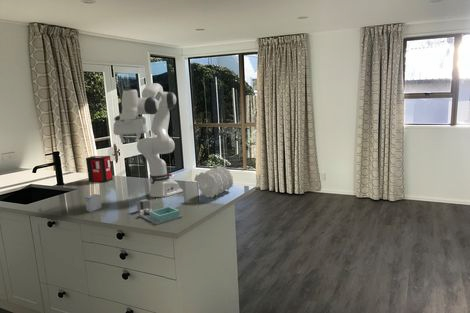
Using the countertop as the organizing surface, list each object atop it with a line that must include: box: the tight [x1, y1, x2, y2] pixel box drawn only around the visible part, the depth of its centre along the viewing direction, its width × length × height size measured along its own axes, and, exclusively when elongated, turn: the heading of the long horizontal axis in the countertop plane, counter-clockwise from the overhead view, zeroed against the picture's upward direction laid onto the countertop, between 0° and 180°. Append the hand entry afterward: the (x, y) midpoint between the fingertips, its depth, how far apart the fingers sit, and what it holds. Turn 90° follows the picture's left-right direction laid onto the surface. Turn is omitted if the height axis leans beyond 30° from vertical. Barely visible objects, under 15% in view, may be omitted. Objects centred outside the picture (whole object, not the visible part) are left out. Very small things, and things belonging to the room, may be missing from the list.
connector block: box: [136, 198, 151, 213], centre depth 212 cm, size 6×4×6 cm
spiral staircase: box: [194, 165, 234, 199], centre depth 237 cm, size 18×18×25 cm
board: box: [138, 208, 183, 226], centre depth 199 cm, size 15×21×4 cm
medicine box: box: [84, 193, 103, 213], centre depth 219 cm, size 8×4×9 cm, turn 150°
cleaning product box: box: [85, 155, 114, 183], centre depth 297 cm, size 16×9×20 cm, turn 77°
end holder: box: [149, 205, 181, 221], centre depth 196 cm, size 12×11×3 cm
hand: (129, 142), depth 200 cm, fingers open, 8 cm apart
